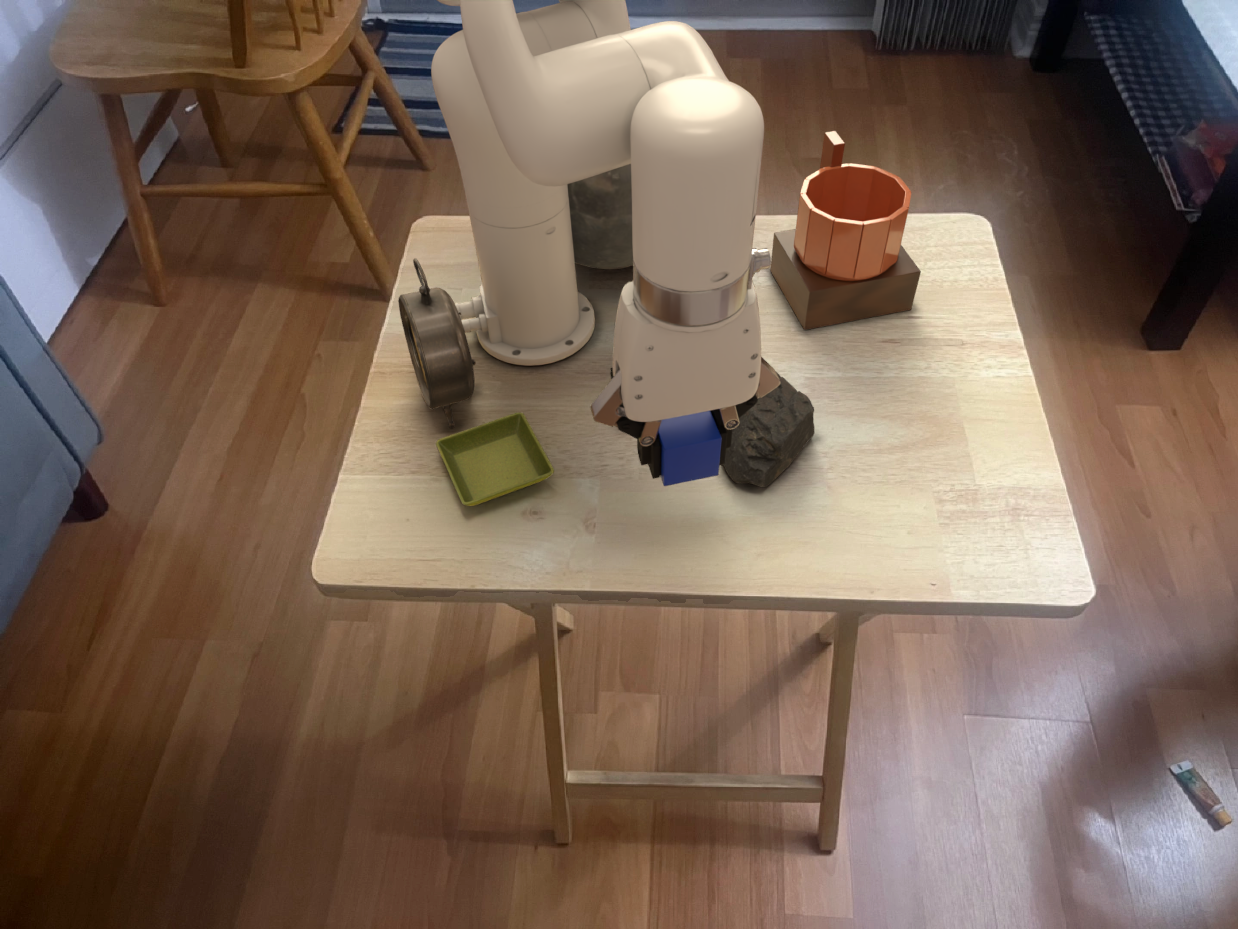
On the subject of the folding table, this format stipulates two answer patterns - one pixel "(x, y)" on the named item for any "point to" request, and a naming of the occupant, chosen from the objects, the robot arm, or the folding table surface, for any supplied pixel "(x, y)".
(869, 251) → the orange stave bucket
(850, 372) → the folding table surface
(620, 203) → the grey scuffed sphere
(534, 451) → the green rectangular tray
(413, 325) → the alarm clock
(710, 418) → the cube
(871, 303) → the stand
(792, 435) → the rock
